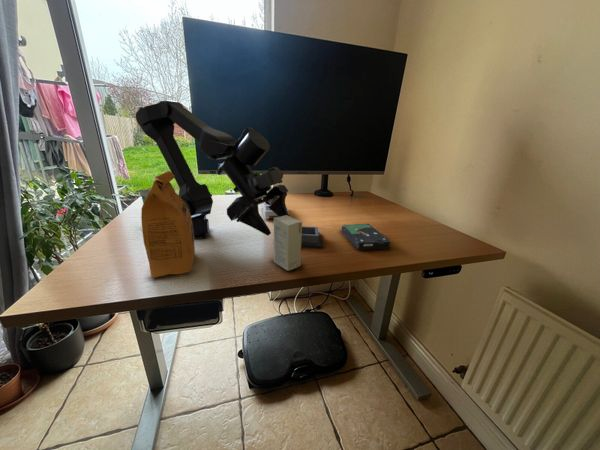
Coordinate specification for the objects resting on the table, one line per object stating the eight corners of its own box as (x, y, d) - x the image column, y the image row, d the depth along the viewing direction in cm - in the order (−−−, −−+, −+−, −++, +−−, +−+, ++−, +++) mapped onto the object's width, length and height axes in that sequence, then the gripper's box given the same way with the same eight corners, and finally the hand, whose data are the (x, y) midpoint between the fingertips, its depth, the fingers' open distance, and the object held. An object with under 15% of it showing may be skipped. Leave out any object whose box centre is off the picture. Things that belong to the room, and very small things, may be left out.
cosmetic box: (301, 266, 61) (303, 221, 56) (287, 272, 58) (289, 225, 54) (285, 256, 65) (287, 214, 61) (272, 261, 63) (272, 217, 58)
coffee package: (201, 251, 65) (192, 169, 57) (193, 277, 54) (180, 180, 46) (161, 253, 63) (146, 169, 55) (143, 281, 52) (121, 179, 44)
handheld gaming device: (283, 208, 105) (283, 200, 104) (288, 220, 92) (288, 210, 90) (262, 209, 103) (262, 200, 102) (265, 221, 90) (264, 211, 88)
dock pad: (321, 248, 71) (322, 237, 70) (284, 246, 71) (285, 236, 70) (319, 234, 81) (320, 225, 79) (286, 232, 80) (286, 223, 79)
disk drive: (389, 249, 73) (367, 230, 86) (391, 241, 72) (368, 223, 85) (358, 251, 71) (340, 231, 84) (359, 242, 70) (341, 223, 83)
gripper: (233, 159, 48) (280, 222, 47) (282, 154, 63) (318, 201, 63) (208, 192, 54) (249, 248, 53) (258, 179, 69) (290, 223, 69)
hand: (280, 228), depth 59 cm, fingers open, 9 cm apart
